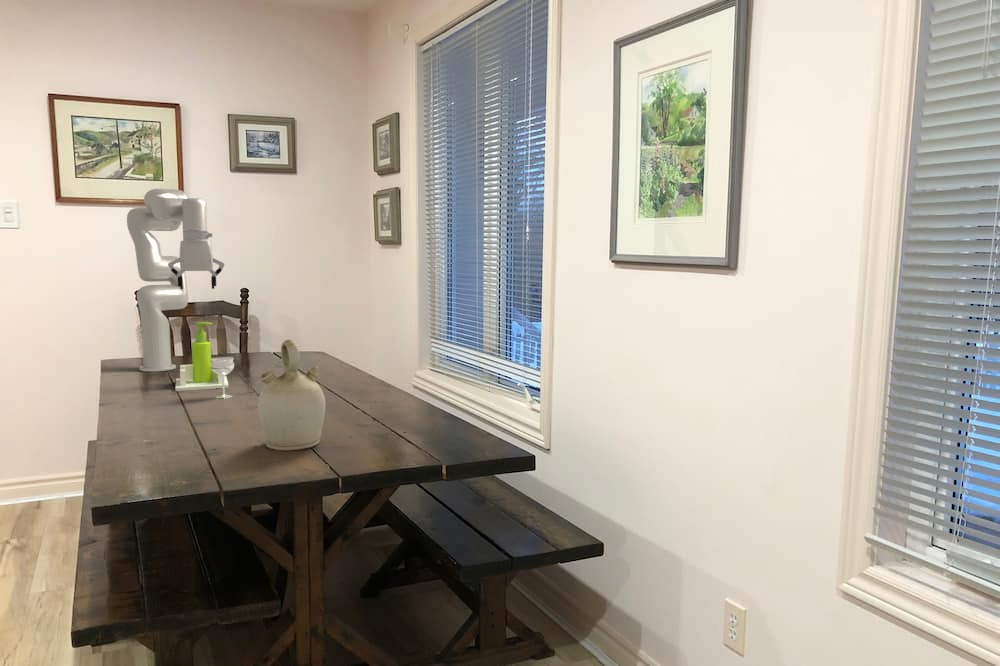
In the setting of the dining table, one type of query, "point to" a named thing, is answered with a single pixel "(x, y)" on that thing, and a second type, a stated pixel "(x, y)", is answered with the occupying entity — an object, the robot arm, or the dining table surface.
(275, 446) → the jug
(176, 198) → the robot arm
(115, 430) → the dining table surface
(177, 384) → the u rest
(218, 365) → the wineglass
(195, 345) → the soap dispenser
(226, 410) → the dining table surface
